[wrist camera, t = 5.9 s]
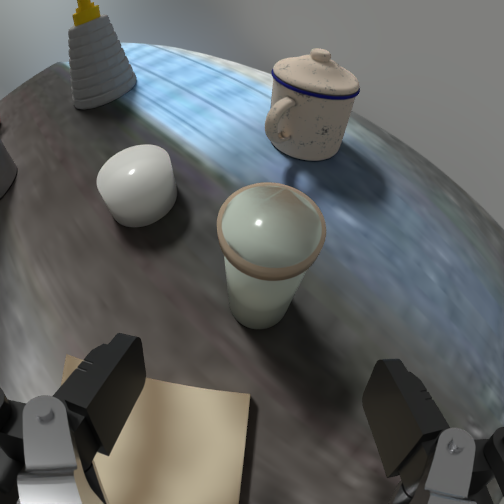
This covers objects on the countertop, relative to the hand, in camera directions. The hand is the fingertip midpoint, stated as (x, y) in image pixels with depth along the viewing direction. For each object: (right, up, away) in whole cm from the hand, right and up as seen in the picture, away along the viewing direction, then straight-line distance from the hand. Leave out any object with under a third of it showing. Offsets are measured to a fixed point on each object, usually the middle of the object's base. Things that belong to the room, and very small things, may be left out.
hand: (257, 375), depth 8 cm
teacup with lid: (+5, +16, +22) cm, 28 cm away
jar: (0, 0, +12) cm, 12 cm away
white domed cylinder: (-11, +9, +17) cm, 22 cm away
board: (-8, -11, +5) cm, 15 cm away
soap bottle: (-26, +33, +30) cm, 51 cm away
